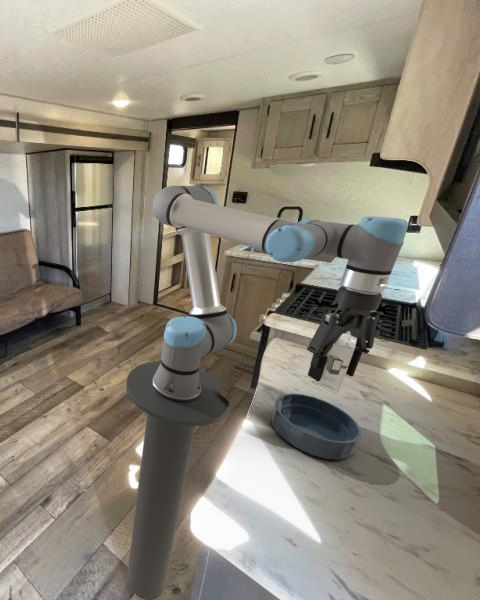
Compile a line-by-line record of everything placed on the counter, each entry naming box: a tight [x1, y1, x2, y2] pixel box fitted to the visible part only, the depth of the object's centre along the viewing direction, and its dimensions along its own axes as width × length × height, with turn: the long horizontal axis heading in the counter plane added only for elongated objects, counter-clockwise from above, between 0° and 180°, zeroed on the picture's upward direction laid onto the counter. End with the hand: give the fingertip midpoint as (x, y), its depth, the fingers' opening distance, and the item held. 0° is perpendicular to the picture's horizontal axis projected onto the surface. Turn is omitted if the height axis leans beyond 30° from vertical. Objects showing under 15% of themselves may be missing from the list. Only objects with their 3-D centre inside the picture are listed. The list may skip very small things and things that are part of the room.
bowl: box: [270, 392, 362, 461], centre depth 84 cm, size 18×18×6 cm
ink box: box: [314, 333, 357, 393], centre depth 77 cm, size 9×5×12 cm, turn 137°
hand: (330, 375), depth 79 cm, fingers closed on ink box, 9 cm apart
